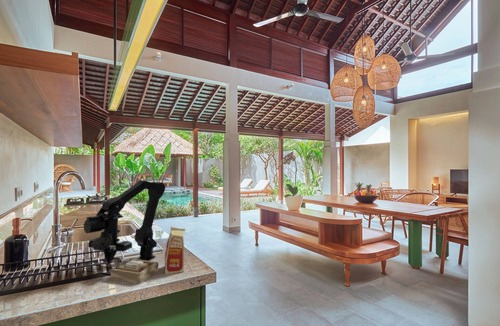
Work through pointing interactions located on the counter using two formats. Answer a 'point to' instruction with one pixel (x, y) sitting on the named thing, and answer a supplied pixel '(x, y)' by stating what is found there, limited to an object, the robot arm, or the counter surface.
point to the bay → (135, 273)
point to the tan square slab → (132, 266)
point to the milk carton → (175, 251)
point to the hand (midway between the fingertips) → (109, 263)
